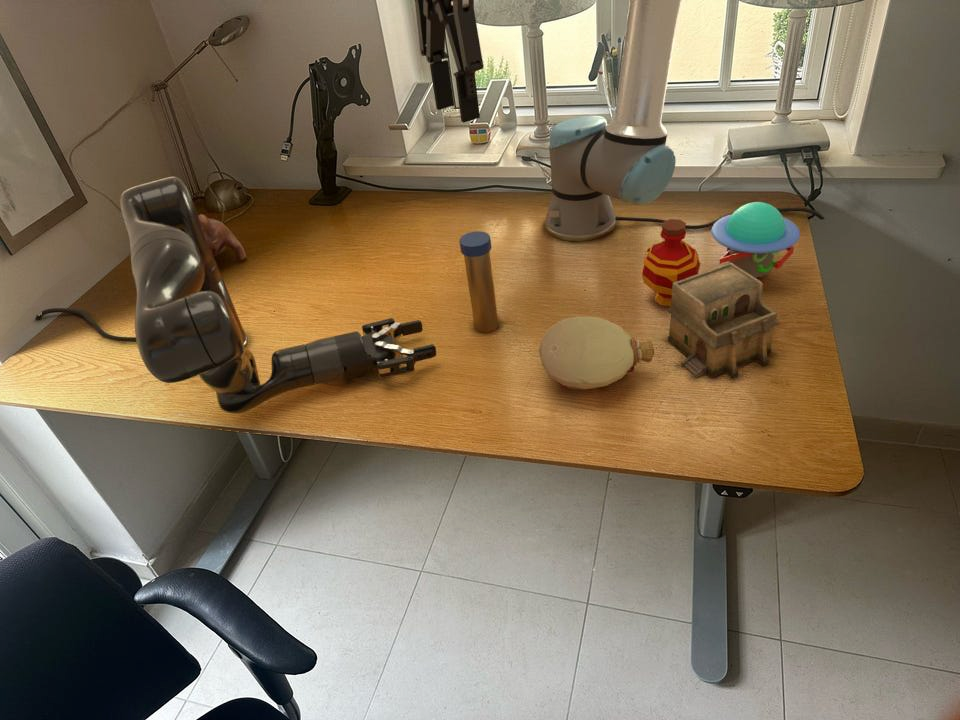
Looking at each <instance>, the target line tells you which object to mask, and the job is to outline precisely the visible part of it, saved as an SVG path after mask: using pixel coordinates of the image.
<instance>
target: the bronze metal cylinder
mask: <svg viewBox="0 0 960 720" xmlns="http://www.w3.org/2000/svg"><path fill="white" fill-rule="evenodd" d="M463 259H464V265H465V266H464V267H465V271H466V278H467V279H466V280H467V284H468V291H469V293H468V294H469V298H470V305H471V306H470V307H471V310H472V311H471V312H472V319H473V324H474V325H473V326H474V329H475V331H477V332H478V333H484V334H485V333H491V332H494V331H495V330H497V329H498V327H499V319H498V317H499V316H498V310H497V309H498V308H497V301H496V295H495V294H496V293H495V286H494V285H495V284H494V278H493V277H494V276H493V270H492V261H491V251H489V252H488V253H487V254H485V255H482V256H478V257H468V256H465V255H463Z"/></svg>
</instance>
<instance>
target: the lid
mask: <svg viewBox="0 0 960 720" xmlns="http://www.w3.org/2000/svg"><path fill="white" fill-rule="evenodd" d="M458 241H459V248H460V253H461V254H462V255H463V256H464V255H465V256H468V257H478V256H482V255H485V254H487V253H488V252H491V250H492V241H491V235H490V234H489V233H488V232H485V231H479V230H478V231H477V230H476V231H470V232H467V233H464V234H462V236H461V237H460V238H459V240H458Z"/></svg>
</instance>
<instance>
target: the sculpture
mask: <svg viewBox="0 0 960 720" xmlns="http://www.w3.org/2000/svg"><path fill="white" fill-rule="evenodd" d="M198 218H199V221H200V224H201V227H202V230H203V232H204V235H205V238H206V240H207V243H208V245H209V247H210V249H211V252H212V254H213V256H214V258H216V257H217V256H218V255H220V254H221V253H222V252H224V250H225V249H226V247H228V248H230V249H231V250H232V251H233V252H234V255H235V258H236V259H237V260H238V261H241V260H243V259H245V258H246V257H247V255H246V252H245V249H244V247H243V245H242V244H241V242H240V241H239V239H237V238H236V236H235V235H234V234H233V232H232V231H231V230H230V229H229V228H228V227H227V226H226V225H225V224H224V223H223V222H222V221H220V220H218V219H215V218H208V217H207V216H206V215H205V214H202V213H200V214H199V215H198Z"/></svg>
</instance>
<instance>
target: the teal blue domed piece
mask: <svg viewBox="0 0 960 720" xmlns="http://www.w3.org/2000/svg"><path fill="white" fill-rule="evenodd" d="M776 208H777V207H775V206H773V205H771V204H769V203H767V202H763V201H762V202H761V201H754V202H749V203H746V204H743V205H741V206H740V207H738V208H737V209H736V210H734V211H733V212H732V213H733V214H731V215H728V216H725V215H724V216H725V217H723V216H722V217H723V218H721V217H720V218H721V219H719V218H718V219H719V220H718V221H717V222H716V223H715V224H714V225H713V226H711V236H712V237H713V239H714V240H715V242H717V243H719V245H721V246H723V247H725V248H726V252H725V253H724V254H723V255H722V257H721V258H719V265H721V264H726V263H733V264H734V265H736V266H737V267H739V268H740V269H742V270H744V271H745V272H747V273H748V274H750V275H751V276H753V277H754V278H756V279H757V278H760V277H763V276H766V275H768V274H770V273H771V271H772V269H773V268H774V269H777V270H778V269H780V268H782V265H784V264H785V262H786V261H788V260H789V258H790V257H791V256H792V255H793V254H794V250H795V247H794V245H795V244H796V243H797V242H799V240H800V238H801V231H800V229H799V227H798V226H797V225H796V224H795V223H794V222H793V221H792V220H790V219H788V218H786V217H784V216H783V214H782V212H779V211H778V210H777V209H776ZM785 250H786V253H785V254H784V255H783V256H782V257H781V259H779V260H777V261H775V258H774V257H775V256H776V255H778V254H779V253H781V252H782V251H785Z"/></svg>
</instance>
